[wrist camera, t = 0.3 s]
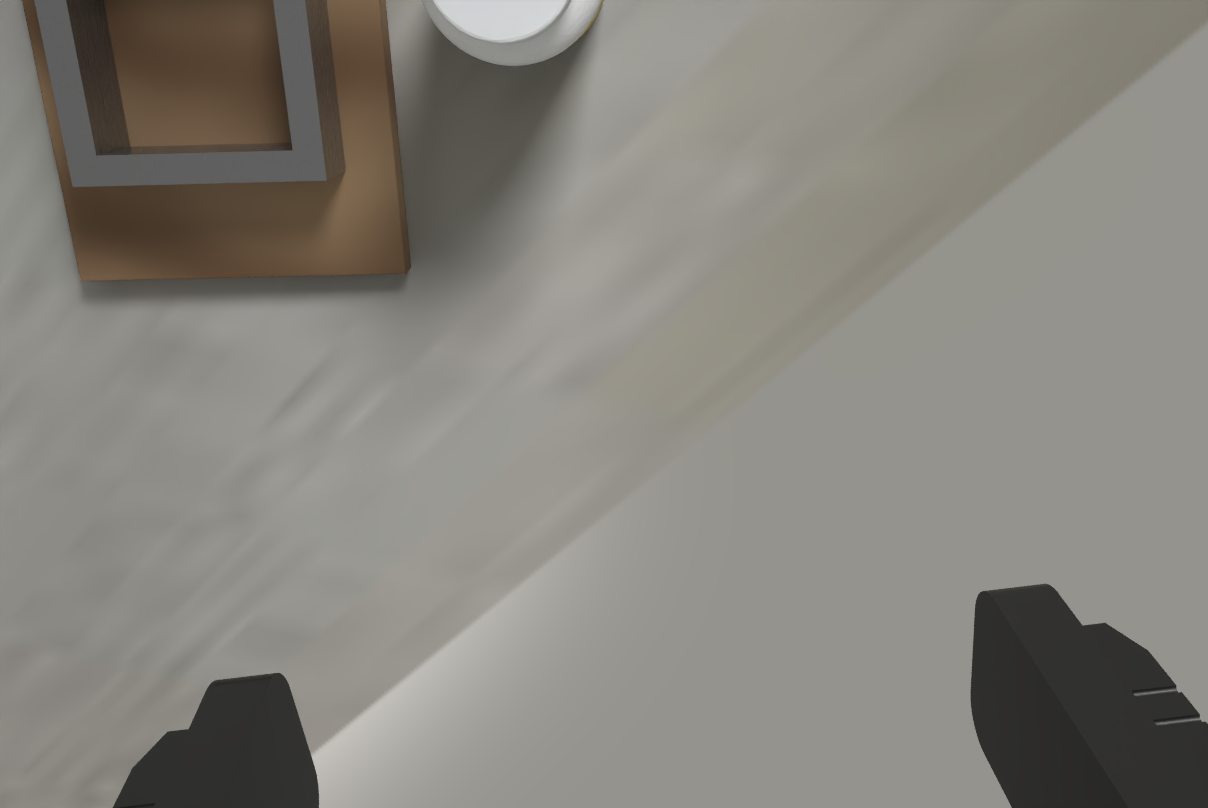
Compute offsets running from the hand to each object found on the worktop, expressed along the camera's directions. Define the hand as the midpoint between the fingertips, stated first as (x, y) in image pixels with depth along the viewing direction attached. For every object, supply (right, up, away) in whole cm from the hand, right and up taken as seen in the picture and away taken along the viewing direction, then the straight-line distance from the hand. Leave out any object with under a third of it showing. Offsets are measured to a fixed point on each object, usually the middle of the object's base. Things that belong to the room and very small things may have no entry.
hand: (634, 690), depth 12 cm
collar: (-14, +15, +23) cm, 31 cm away
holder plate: (-14, +16, +24) cm, 32 cm away
